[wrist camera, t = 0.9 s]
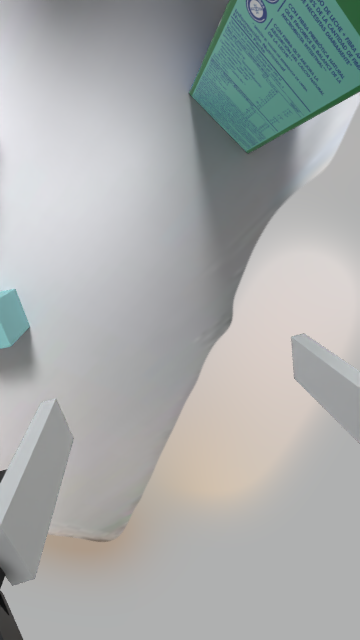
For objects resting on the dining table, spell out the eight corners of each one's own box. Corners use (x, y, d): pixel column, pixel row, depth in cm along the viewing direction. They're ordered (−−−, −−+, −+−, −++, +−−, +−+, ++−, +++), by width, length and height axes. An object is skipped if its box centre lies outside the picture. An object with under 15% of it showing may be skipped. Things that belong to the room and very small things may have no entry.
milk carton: (247, 154, 33) (517, 6, 10) (187, 93, 30) (369, -324, 7) (300, 82, 31) (777, -303, 8) (242, 10, 28) (725, -908, 5)
